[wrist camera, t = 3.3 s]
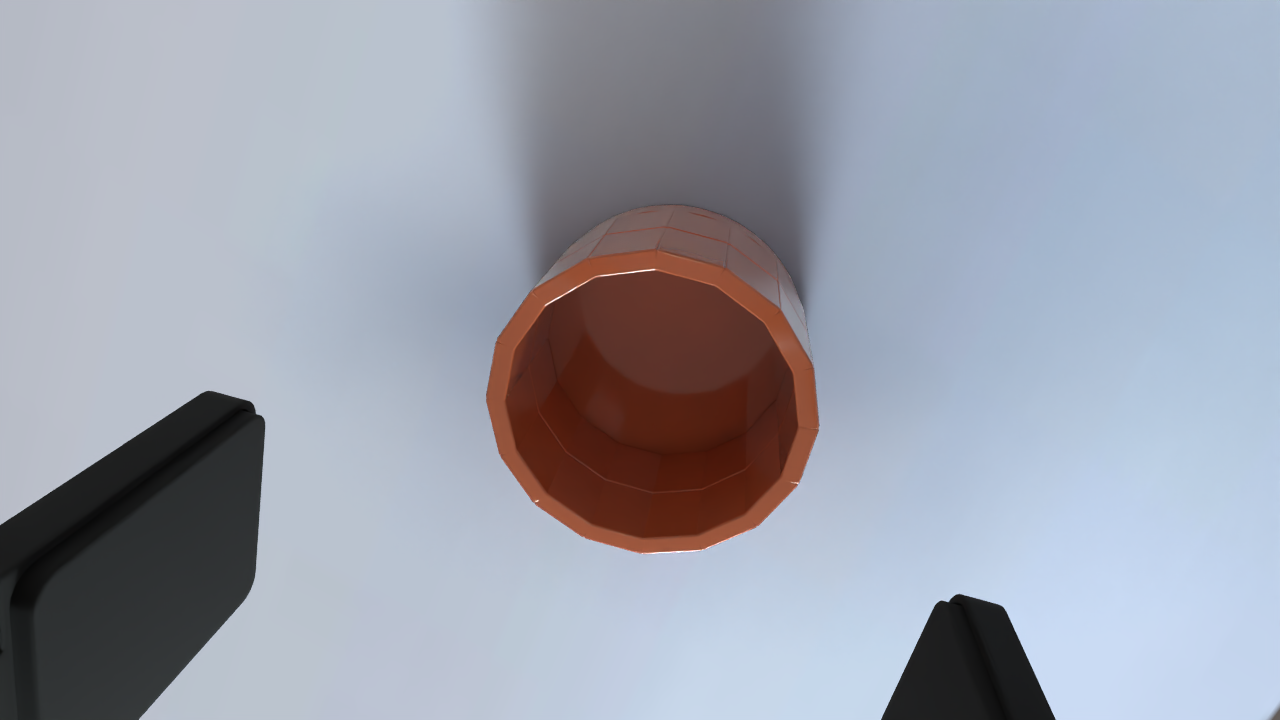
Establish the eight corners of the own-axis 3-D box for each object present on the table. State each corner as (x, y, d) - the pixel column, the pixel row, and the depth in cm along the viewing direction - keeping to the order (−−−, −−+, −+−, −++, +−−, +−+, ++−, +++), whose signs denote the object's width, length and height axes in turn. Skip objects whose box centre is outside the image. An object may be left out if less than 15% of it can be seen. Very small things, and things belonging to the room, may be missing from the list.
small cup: (840, 244, 19) (865, 304, 15) (760, 480, 21) (761, 588, 17) (570, 173, 19) (518, 212, 15) (521, 414, 21) (465, 505, 17)
